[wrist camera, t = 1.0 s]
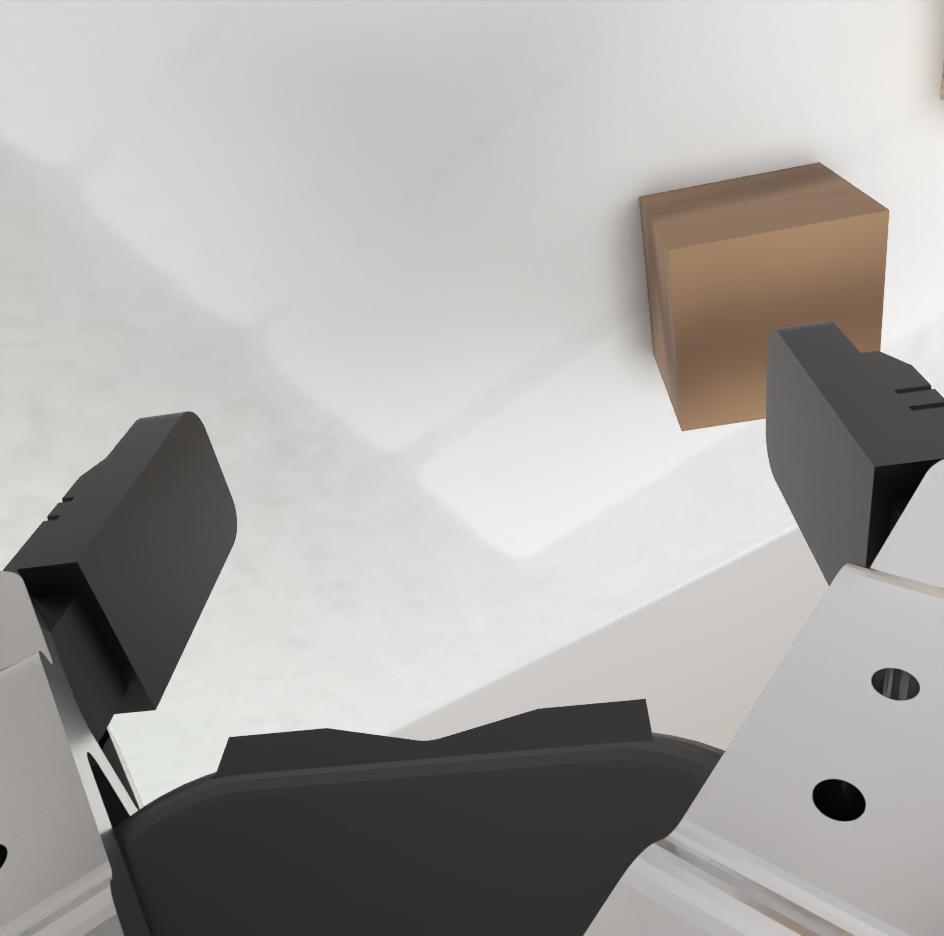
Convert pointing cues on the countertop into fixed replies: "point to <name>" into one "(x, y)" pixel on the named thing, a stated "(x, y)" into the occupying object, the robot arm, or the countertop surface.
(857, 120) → the countertop surface
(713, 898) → the robot arm
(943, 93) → the oak base block
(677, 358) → the walnut block
